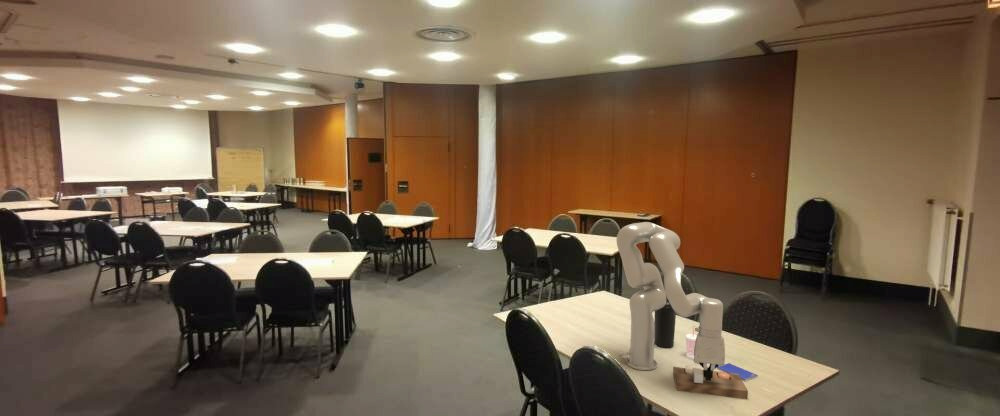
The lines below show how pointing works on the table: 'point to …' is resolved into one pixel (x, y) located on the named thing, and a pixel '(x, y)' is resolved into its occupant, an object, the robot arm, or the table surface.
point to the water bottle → (665, 326)
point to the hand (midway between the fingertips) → (707, 379)
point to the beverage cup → (690, 344)
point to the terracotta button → (723, 375)
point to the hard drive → (737, 371)
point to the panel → (711, 384)
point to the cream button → (689, 369)
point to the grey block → (697, 375)
